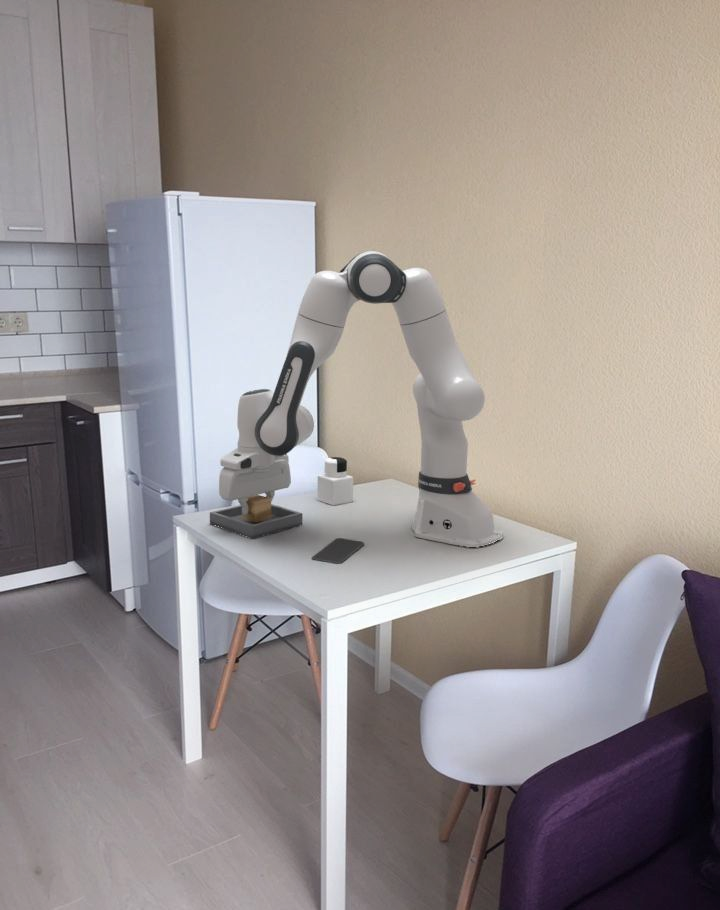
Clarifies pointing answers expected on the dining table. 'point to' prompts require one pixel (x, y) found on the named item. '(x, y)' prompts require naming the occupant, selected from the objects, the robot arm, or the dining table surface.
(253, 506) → the oversize block
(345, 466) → the medicine bottle
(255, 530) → the sorting tray
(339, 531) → the dining table surface
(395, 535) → the dining table surface
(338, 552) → the smartphone
